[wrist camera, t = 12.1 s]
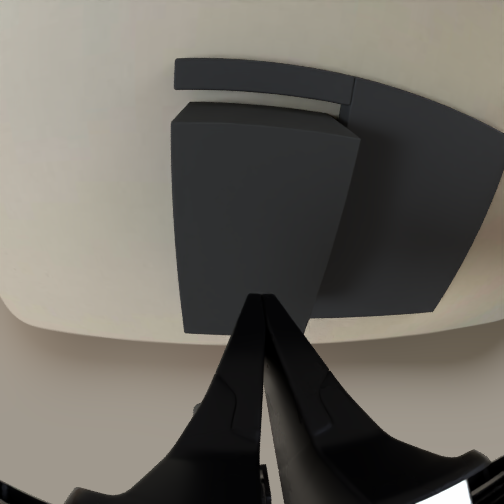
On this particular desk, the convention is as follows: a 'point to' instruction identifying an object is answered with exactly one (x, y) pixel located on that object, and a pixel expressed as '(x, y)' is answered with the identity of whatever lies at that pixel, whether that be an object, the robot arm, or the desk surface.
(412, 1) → the desk surface
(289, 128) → the foam pad
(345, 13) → the desk surface
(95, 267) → the desk surface
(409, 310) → the base pad
